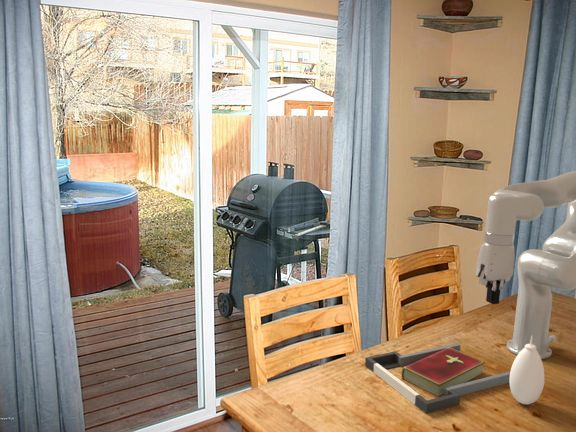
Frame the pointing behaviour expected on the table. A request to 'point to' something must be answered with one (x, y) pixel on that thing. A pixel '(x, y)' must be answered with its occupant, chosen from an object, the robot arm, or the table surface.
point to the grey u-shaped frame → (449, 399)
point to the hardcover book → (442, 370)
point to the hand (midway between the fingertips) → (492, 302)
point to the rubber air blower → (527, 375)
